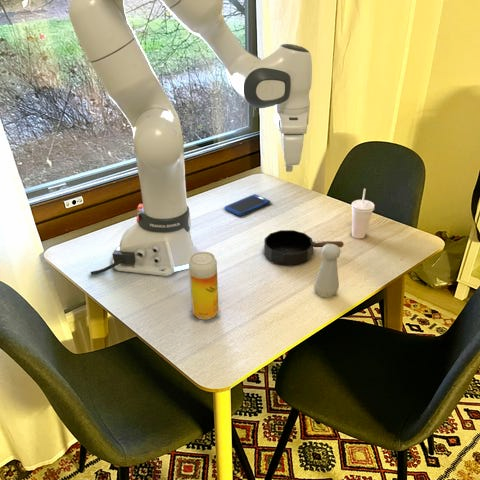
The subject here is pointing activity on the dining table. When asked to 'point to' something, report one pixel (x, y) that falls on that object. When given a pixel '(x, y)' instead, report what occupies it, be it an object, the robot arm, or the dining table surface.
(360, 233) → the smoothie
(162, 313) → the dining table surface
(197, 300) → the glass of yellow beer
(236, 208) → the cell phone
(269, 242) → the pan
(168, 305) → the dining table surface
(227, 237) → the dining table surface
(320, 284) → the salt shaker
